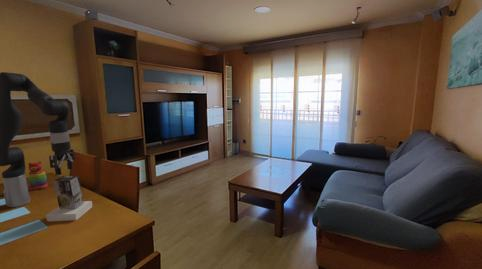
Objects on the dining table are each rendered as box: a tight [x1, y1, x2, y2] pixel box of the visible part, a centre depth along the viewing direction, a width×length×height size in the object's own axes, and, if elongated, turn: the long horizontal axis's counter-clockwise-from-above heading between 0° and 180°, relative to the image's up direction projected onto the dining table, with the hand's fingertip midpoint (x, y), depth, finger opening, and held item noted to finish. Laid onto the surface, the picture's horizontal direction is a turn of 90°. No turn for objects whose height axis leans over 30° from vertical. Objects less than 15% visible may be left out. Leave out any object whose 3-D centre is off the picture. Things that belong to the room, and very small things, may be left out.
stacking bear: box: [27, 161, 49, 192], centre depth 153 cm, size 11×10×18 cm
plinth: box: [45, 200, 93, 222], centre depth 120 cm, size 14×14×4 cm
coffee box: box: [53, 175, 84, 209], centre depth 119 cm, size 9×6×16 cm
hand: (64, 171), depth 116 cm, fingers open, 8 cm apart
